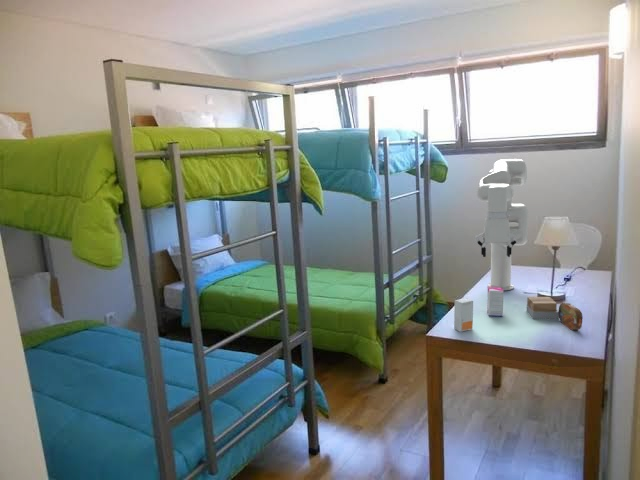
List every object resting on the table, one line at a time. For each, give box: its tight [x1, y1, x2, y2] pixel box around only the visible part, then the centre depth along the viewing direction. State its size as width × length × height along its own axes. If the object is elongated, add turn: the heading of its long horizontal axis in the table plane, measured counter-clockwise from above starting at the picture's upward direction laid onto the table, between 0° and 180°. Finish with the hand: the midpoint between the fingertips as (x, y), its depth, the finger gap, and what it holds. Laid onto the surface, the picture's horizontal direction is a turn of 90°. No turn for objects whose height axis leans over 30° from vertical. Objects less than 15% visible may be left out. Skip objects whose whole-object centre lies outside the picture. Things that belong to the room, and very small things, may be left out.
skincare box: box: [453, 297, 474, 333], centre depth 190 cm, size 6×4×12 cm
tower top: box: [526, 296, 558, 312], centre depth 202 cm, size 9×9×4 cm
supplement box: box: [486, 287, 505, 318], centre depth 205 cm, size 6×6×12 cm
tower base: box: [526, 304, 560, 320], centre depth 203 cm, size 10×10×4 cm
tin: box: [557, 302, 584, 331], centre depth 189 cm, size 15×3×8 cm, turn 178°
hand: (496, 256), depth 201 cm, fingers open, 9 cm apart
